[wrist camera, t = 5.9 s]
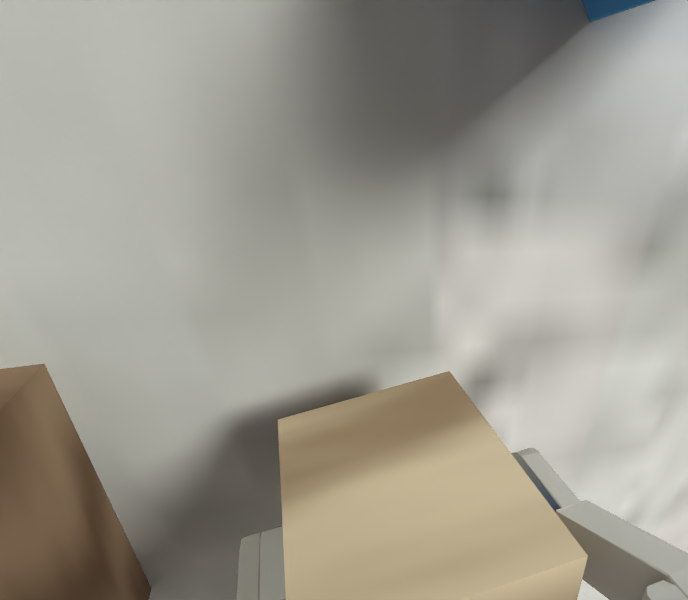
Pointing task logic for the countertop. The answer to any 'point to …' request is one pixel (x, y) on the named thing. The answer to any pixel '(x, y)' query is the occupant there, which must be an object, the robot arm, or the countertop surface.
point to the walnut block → (55, 504)
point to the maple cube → (415, 504)
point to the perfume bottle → (609, 7)
